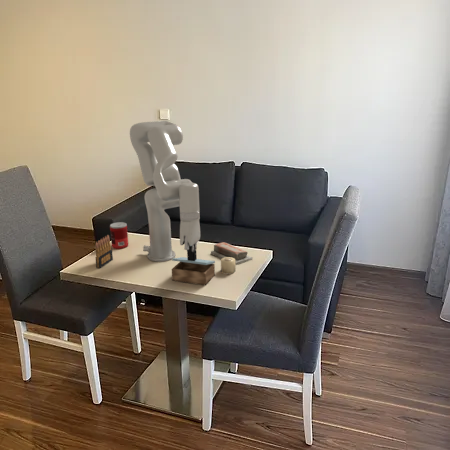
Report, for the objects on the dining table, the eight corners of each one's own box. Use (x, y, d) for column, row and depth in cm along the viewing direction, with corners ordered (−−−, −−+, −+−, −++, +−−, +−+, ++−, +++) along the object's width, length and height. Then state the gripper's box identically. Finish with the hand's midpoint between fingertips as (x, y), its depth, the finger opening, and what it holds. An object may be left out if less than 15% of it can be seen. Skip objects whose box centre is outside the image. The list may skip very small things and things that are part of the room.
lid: (172, 260, 188) (172, 258, 188) (182, 259, 198) (182, 257, 198) (205, 264, 184) (206, 262, 184) (214, 263, 193) (214, 261, 193)
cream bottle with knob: (219, 272, 197) (218, 261, 195) (223, 267, 202) (223, 255, 201) (232, 274, 195) (232, 262, 194) (237, 268, 201) (237, 257, 199)
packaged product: (209, 244, 216) (226, 239, 222) (210, 254, 218) (226, 249, 224) (235, 255, 203) (252, 250, 209) (235, 266, 205) (252, 260, 211)
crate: (172, 280, 190) (171, 269, 189) (182, 271, 199) (182, 259, 198) (205, 285, 186) (205, 273, 184) (214, 275, 195) (214, 264, 193)
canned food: (131, 244, 230) (129, 223, 227) (121, 250, 223) (119, 228, 220) (118, 242, 233) (116, 221, 230) (108, 248, 226) (106, 226, 223)
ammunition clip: (109, 259, 213) (107, 233, 209) (113, 259, 213) (110, 234, 209) (96, 268, 203) (93, 241, 200) (99, 268, 203) (97, 242, 199)
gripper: (188, 209, 190) (191, 252, 196) (172, 219, 177) (175, 265, 182) (206, 210, 188) (207, 254, 193) (191, 221, 174) (193, 267, 180)
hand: (192, 259), depth 188 cm, fingers closed
